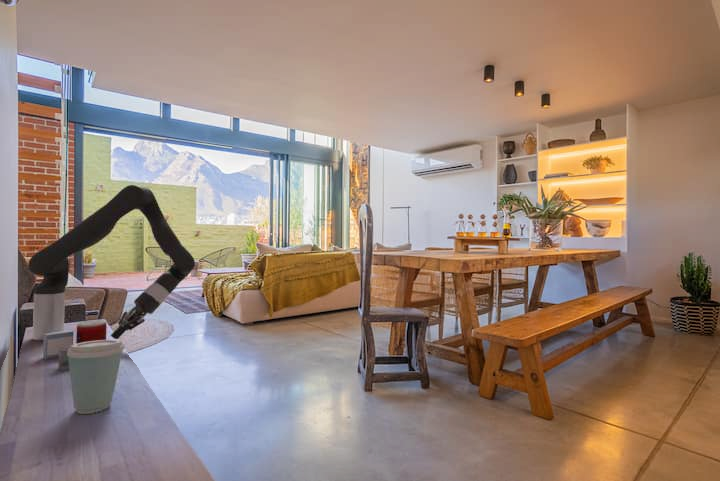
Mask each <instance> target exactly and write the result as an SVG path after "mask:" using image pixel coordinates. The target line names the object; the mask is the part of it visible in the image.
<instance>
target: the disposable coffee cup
mask: <svg viewBox="0 0 720 481" xmlns="http://www.w3.org/2000/svg"><path fill="white" fill-rule="evenodd" d="M124 350H125V344H123V341H122V340H118V339H106V340H95V341H88V342H82V343H77V344H76V343H73V345H72V346H71V347H70V349H69V350H68V351H67V356H68V361H69V369H70V371H69V376H70V383H71V384H70V386H71V392H72V400H73V409H75V412H76V413H77V414H81V415H87V414H89V415H90V414H95V412H96V413H98V411H100V410H103V409H105V408H107V407H108V408H109V407H110V406H111V403H112V402H113V398H114V397H113V396H114V392H115V387H116V383H117V378H118V373H119V369H120V366H121V365H120V364H121V360H122V355H123V352H124ZM108 408H107V409H108ZM105 410H106V409H105ZM103 411H104V410H103ZM100 412H101V411H100Z"/></svg>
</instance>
